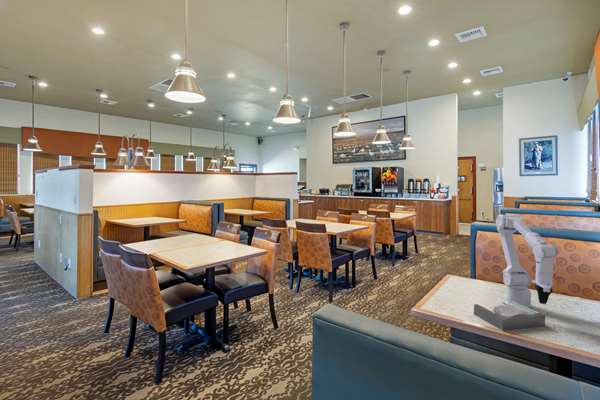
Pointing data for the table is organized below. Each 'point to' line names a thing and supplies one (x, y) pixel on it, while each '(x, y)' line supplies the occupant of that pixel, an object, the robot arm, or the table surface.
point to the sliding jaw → (522, 308)
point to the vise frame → (509, 319)
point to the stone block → (508, 311)
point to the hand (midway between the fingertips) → (542, 303)
